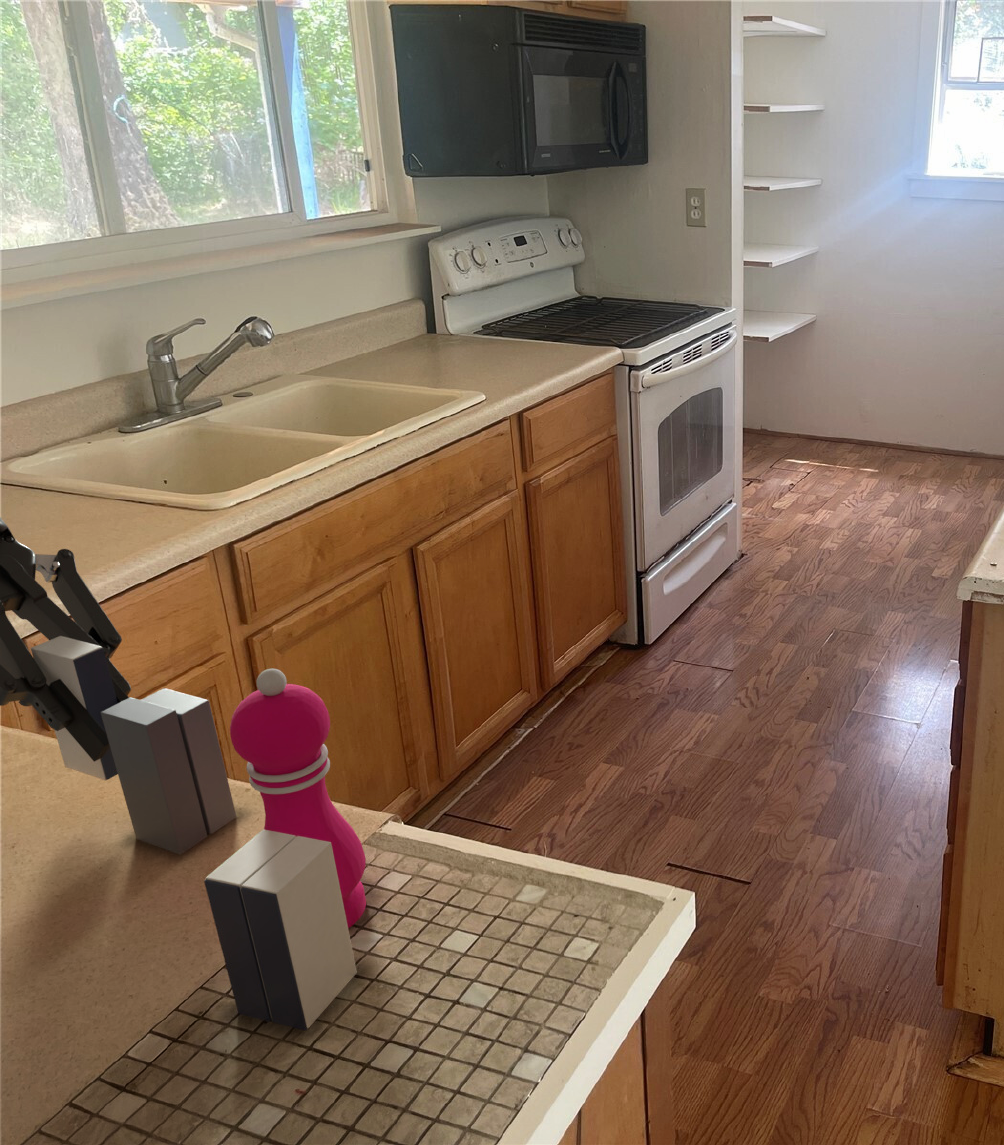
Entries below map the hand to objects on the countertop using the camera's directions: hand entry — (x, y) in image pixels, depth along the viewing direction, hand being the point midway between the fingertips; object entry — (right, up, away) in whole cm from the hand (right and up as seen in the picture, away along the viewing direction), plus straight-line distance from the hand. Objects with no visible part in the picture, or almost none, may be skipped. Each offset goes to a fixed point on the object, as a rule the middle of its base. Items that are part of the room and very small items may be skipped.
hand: (122, 741), depth 86 cm
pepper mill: (+20, -11, -9) cm, 25 cm away
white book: (-4, -3, +3) cm, 5 cm away
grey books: (+5, -7, 0) cm, 9 cm away
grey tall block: (+22, -14, -17) cm, 31 cm away
